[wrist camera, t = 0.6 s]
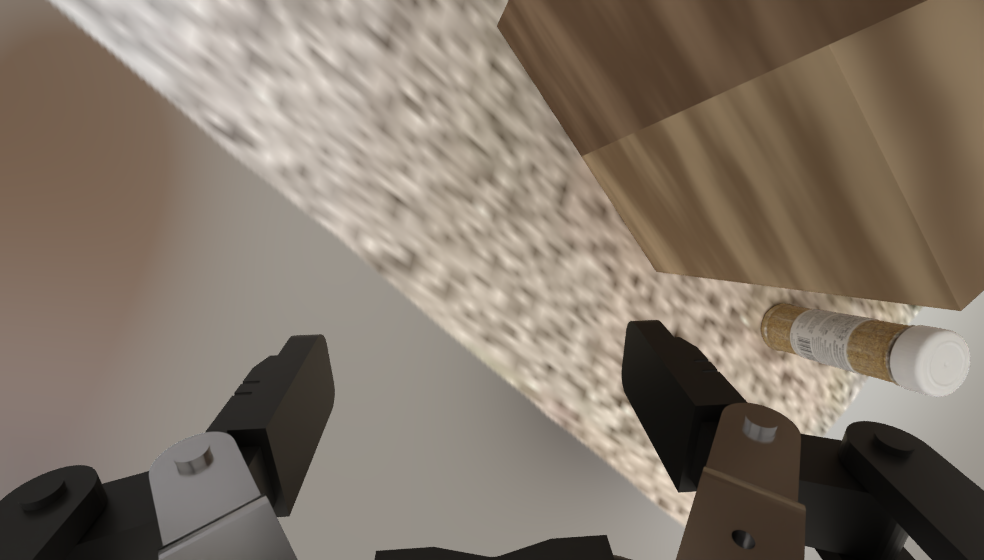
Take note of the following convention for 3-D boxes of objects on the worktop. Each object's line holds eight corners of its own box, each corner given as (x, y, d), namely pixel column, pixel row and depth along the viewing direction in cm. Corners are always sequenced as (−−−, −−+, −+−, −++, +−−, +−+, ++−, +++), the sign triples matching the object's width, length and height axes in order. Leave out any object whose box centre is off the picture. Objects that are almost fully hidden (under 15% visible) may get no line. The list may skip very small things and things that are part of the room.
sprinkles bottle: (802, 341, 43) (977, 386, 30) (762, 355, 43) (923, 408, 29) (795, 296, 43) (971, 322, 30) (754, 309, 42) (916, 342, 29)
